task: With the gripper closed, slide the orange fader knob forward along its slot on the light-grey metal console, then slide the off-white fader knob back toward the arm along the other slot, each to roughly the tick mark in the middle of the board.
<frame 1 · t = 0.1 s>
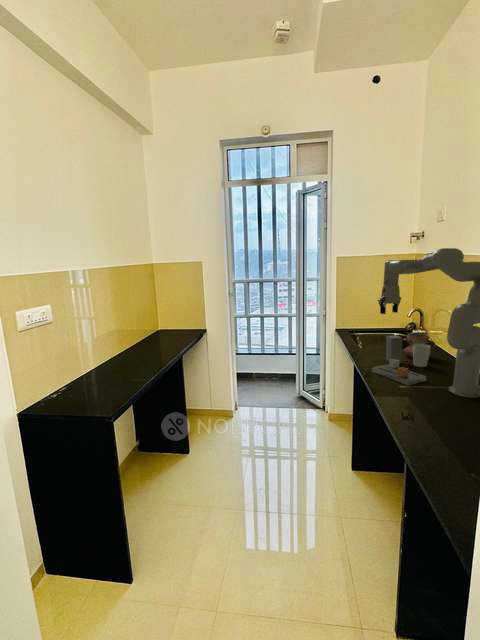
hand: (388, 313, 190), 31 cm above the worktop, tool pointing down, fingers open, 9 cm apart
console: (397, 376, 178), on the worktop
skincare box: (393, 362, 203), on the worktop
fader orange: (402, 371, 170), point 5 cm above the worktop, slide at 1.0 cm
fader white: (394, 363, 184), point 5 cm above the worktop, slide at 1.0 cm
ceramic jug: (417, 357, 212), on the worktop
cup: (420, 365, 195), on the worktop
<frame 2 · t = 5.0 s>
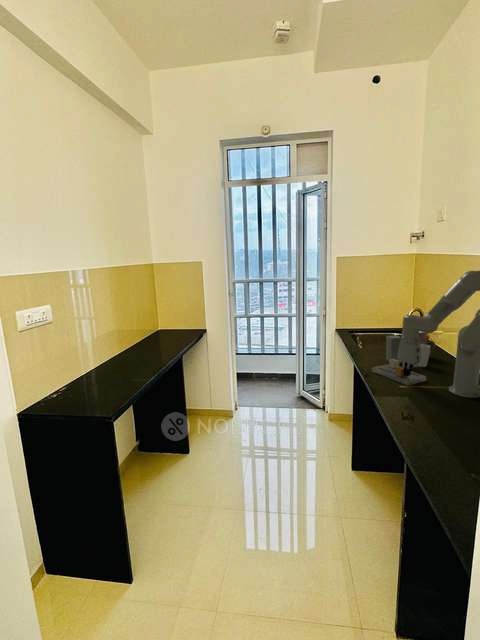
hand: (406, 375, 168), 4 cm above the worktop, tool pointing down, fingers closed
fader orange: (400, 371, 172), point 5 cm above the worktop, slide at 2.4 cm, touching gripper
everything else where it was.
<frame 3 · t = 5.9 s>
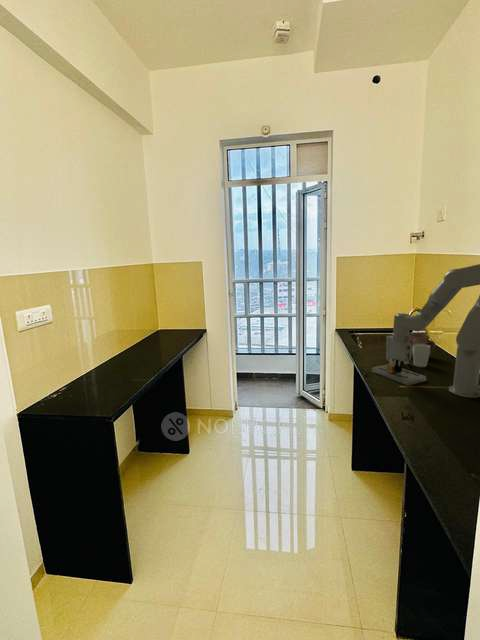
hand: (397, 372, 173), 4 cm above the worktop, tool pointing down, fingers closed
fader orange: (392, 368, 176), point 5 cm above the worktop, slide at 7.6 cm, touching gripper
everything else where it was.
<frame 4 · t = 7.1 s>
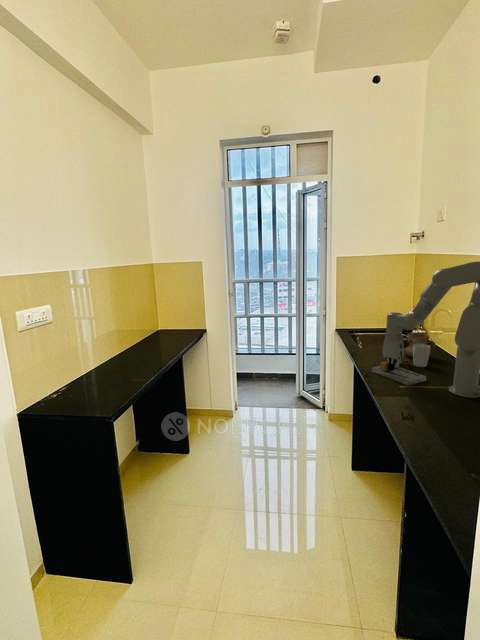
hand: (391, 370, 177), 4 cm above the worktop, tool pointing down, fingers closed
fader orange: (385, 365, 180), point 5 cm above the worktop, slide at 11.9 cm, touching gripper
everything else where it was.
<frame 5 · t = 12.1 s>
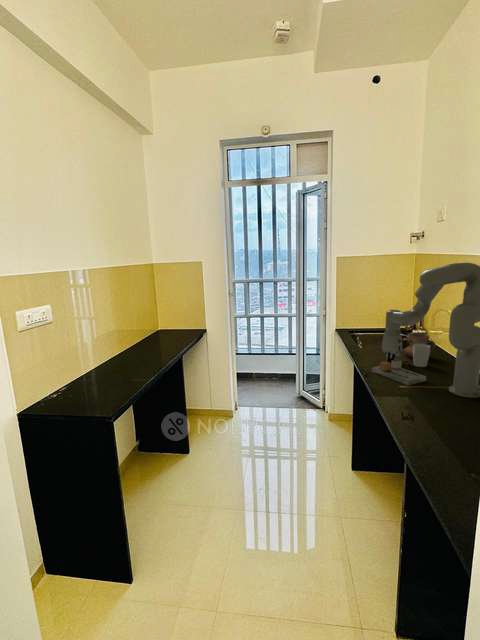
hand: (390, 364, 187), 4 cm above the worktop, tool pointing down, fingers closed
fader orange: (385, 365, 180), point 5 cm above the worktop, slide at 11.9 cm
fader white: (396, 363, 183), point 5 cm above the worktop, slide at 2.4 cm, touching gripper
everything else where it was.
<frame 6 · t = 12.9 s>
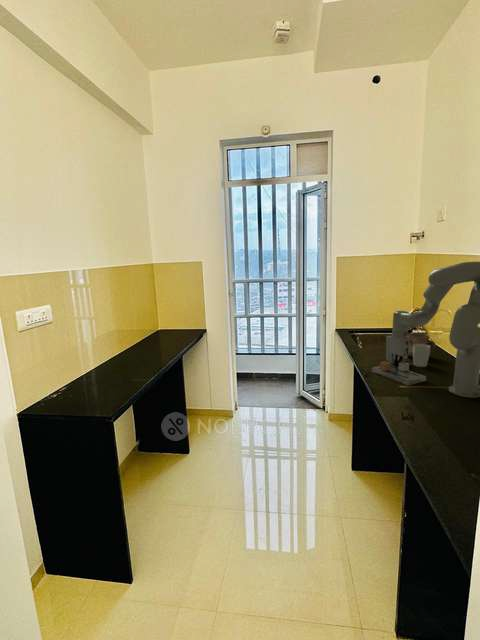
hand: (397, 366, 183), 4 cm above the worktop, tool pointing down, fingers closed
fader white: (403, 366, 179), point 5 cm above the worktop, slide at 7.1 cm, touching gripper
everything else where it was.
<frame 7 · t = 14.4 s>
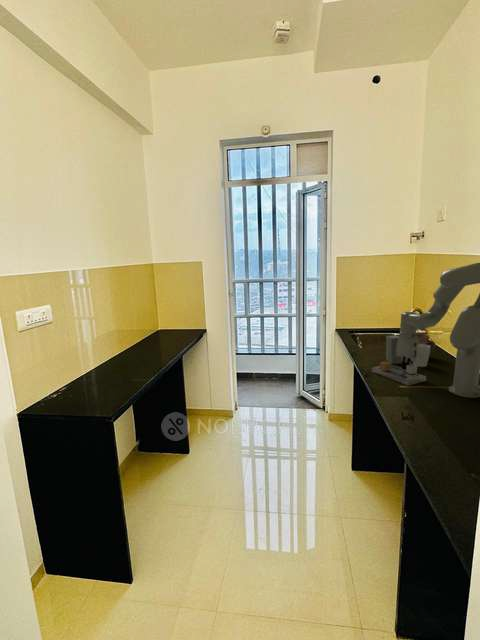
hand: (404, 369, 178), 4 cm above the worktop, tool pointing down, fingers closed
fader white: (411, 368, 175), point 5 cm above the worktop, slide at 11.8 cm, touching gripper
everything else where it was.
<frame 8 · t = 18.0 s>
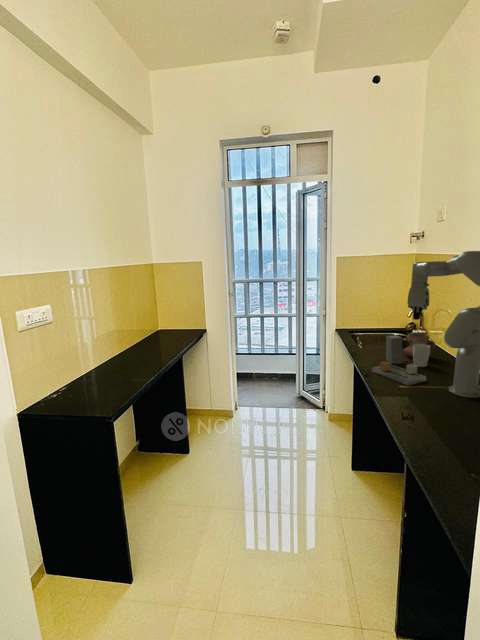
hand: (416, 319, 181), 29 cm above the worktop, tool pointing down, fingers closed
fader white: (411, 368, 175), point 5 cm above the worktop, slide at 11.8 cm
everything else where it was.
at the end: fader orange slide at 11.9 cm; fader white slide at 11.8 cm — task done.
